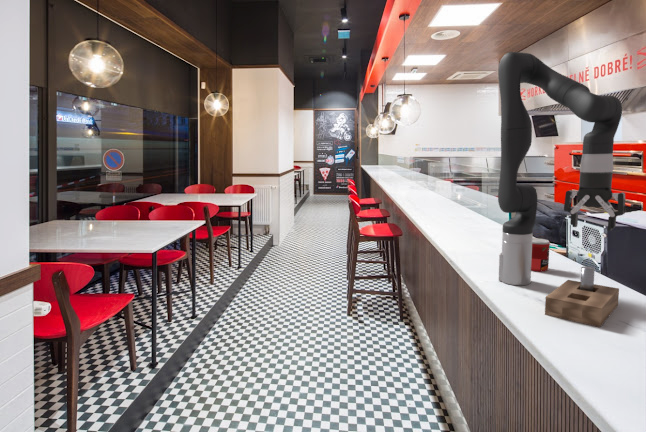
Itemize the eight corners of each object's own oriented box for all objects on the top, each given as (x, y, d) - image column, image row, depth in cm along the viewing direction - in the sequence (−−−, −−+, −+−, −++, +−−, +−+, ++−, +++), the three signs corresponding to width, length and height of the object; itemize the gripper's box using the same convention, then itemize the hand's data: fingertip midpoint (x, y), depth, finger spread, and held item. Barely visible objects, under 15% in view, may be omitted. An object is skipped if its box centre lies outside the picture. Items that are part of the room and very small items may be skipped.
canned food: (545, 273, 152) (546, 243, 151) (521, 269, 158) (523, 240, 156) (550, 268, 158) (552, 239, 156) (528, 265, 163) (529, 237, 162)
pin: (577, 302, 121) (579, 268, 119) (581, 299, 123) (583, 266, 122) (590, 304, 119) (593, 270, 117) (593, 301, 121) (595, 267, 119)
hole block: (544, 314, 115) (545, 296, 115) (567, 295, 129) (568, 279, 128) (600, 327, 106) (601, 308, 105) (617, 305, 120) (619, 288, 119)
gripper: (563, 170, 118) (559, 227, 120) (624, 171, 108) (619, 233, 110) (571, 169, 123) (567, 224, 126) (630, 170, 113) (625, 229, 115)
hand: (592, 228), depth 118 cm, fingers open, 8 cm apart
